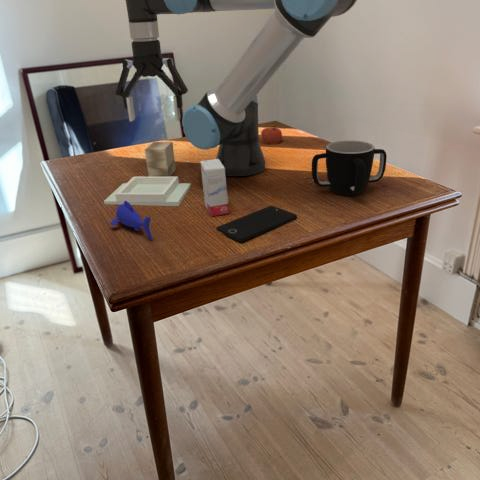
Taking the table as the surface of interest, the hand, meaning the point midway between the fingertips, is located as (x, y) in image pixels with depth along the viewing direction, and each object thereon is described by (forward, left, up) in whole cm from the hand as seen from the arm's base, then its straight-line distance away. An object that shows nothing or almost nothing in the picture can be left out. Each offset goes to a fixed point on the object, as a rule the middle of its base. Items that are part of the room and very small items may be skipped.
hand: (155, 120), depth 136 cm
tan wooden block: (0, 0, -17) cm, 17 cm away
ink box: (-21, +24, -18) cm, 37 cm away
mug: (-54, +10, -18) cm, 58 cm away
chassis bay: (-1, +16, -17) cm, 24 cm away
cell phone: (-33, +32, -18) cm, 49 cm away
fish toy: (-5, +37, -18) cm, 42 cm away
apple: (-30, -33, -18) cm, 48 cm away
